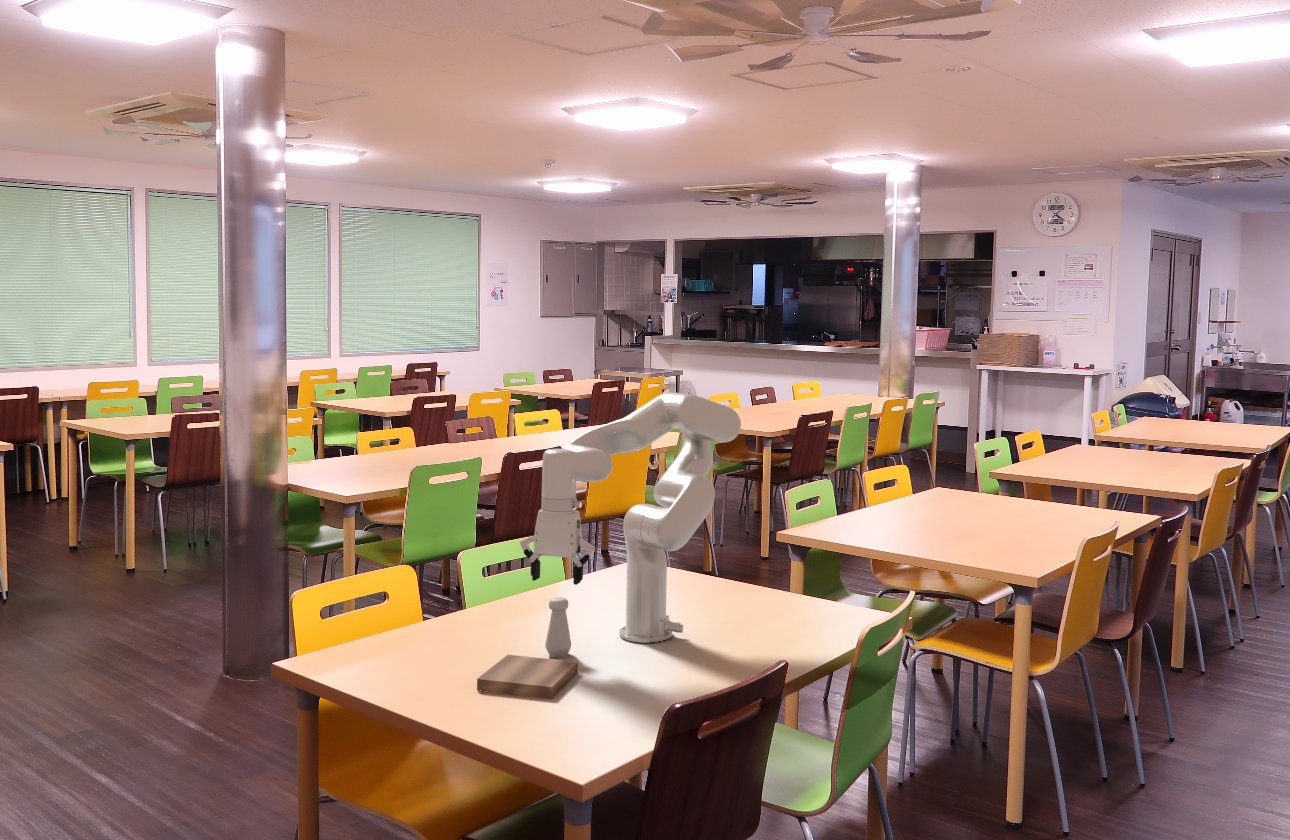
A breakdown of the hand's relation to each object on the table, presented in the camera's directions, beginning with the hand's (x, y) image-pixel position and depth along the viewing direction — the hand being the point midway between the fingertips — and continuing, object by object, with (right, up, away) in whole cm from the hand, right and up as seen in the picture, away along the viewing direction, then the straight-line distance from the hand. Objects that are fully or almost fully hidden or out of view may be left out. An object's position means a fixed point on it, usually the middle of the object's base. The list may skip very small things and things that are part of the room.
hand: (556, 581), depth 230 cm
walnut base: (-4, -19, -15) cm, 25 cm away
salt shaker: (0, -17, +2) cm, 17 cm away
